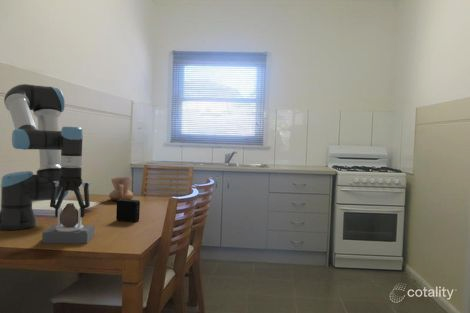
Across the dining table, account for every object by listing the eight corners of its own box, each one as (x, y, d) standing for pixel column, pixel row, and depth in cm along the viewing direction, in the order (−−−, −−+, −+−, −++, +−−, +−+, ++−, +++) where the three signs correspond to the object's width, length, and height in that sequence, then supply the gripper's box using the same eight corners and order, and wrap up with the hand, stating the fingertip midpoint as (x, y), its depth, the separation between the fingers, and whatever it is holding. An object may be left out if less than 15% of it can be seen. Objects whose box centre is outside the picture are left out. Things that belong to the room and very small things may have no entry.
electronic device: (135, 222, 181) (136, 201, 180) (116, 220, 183) (116, 200, 182) (139, 220, 185) (139, 200, 184) (120, 219, 187) (121, 198, 186)
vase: (68, 223, 153) (69, 201, 152) (82, 225, 151) (83, 203, 150) (55, 226, 146) (56, 204, 146) (70, 229, 144) (71, 206, 144)
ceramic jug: (110, 197, 245) (110, 175, 244) (133, 197, 248) (134, 176, 247) (107, 203, 227) (107, 179, 226) (132, 203, 231) (133, 180, 230)
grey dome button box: (42, 243, 141) (42, 230, 141) (52, 234, 153) (52, 222, 153) (87, 243, 144) (87, 230, 144) (94, 235, 156) (94, 223, 155)
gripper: (40, 166, 142) (39, 227, 143) (95, 168, 145) (93, 228, 146) (47, 164, 149) (46, 222, 151) (99, 166, 152) (98, 223, 154)
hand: (69, 225), depth 148 cm, fingers closed on vase, 7 cm apart
